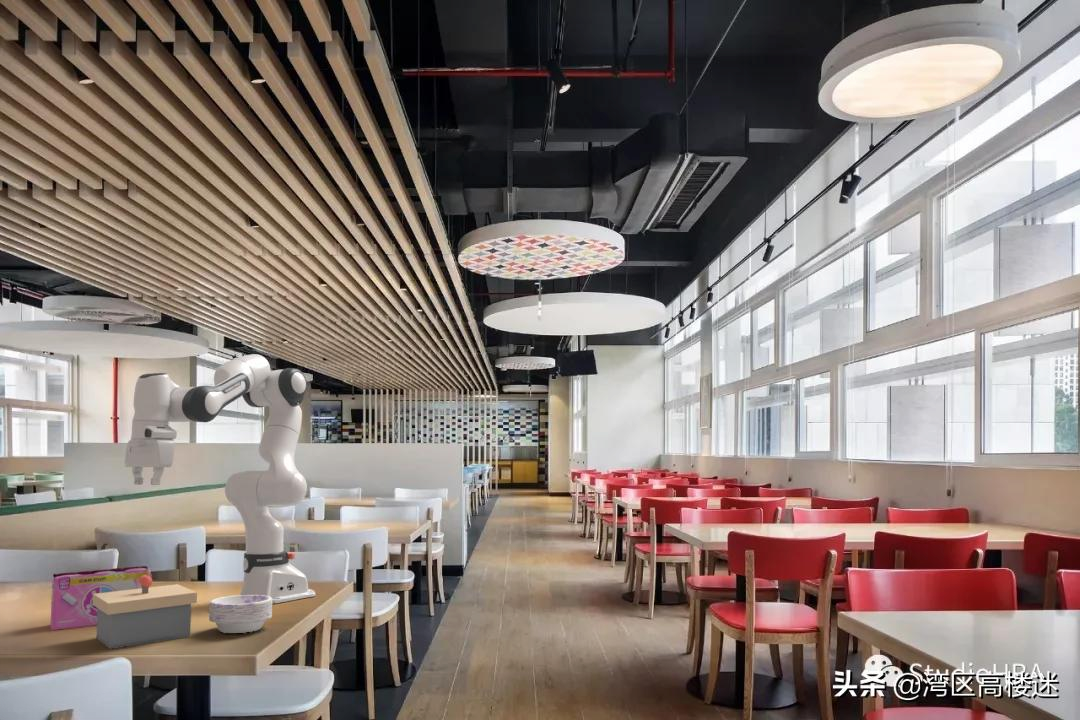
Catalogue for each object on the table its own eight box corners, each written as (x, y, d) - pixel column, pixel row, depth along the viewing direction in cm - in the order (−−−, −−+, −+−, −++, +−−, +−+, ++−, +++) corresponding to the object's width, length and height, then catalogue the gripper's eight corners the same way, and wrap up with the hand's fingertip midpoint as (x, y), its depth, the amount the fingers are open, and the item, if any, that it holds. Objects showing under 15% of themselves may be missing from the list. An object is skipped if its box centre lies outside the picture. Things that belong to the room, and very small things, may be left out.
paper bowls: (275, 622, 216) (276, 592, 217) (266, 635, 202) (267, 603, 202) (215, 625, 214) (216, 594, 215) (202, 639, 199) (203, 605, 200)
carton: (173, 626, 212) (174, 587, 213) (190, 636, 202) (191, 595, 202) (96, 638, 201) (98, 596, 202) (110, 649, 190) (112, 605, 191)
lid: (176, 594, 214) (177, 567, 215) (196, 603, 202) (197, 575, 203) (92, 604, 201) (93, 576, 202) (108, 614, 189) (109, 585, 190)
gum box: (148, 614, 229) (150, 565, 230) (152, 619, 222) (154, 568, 224) (49, 625, 216) (52, 573, 217) (51, 631, 209) (53, 577, 211)
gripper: (120, 433, 221) (116, 484, 219) (156, 431, 208) (153, 485, 206) (143, 433, 226) (140, 484, 224) (180, 432, 213) (177, 485, 211)
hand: (146, 484), depth 215 cm, fingers open, 8 cm apart
